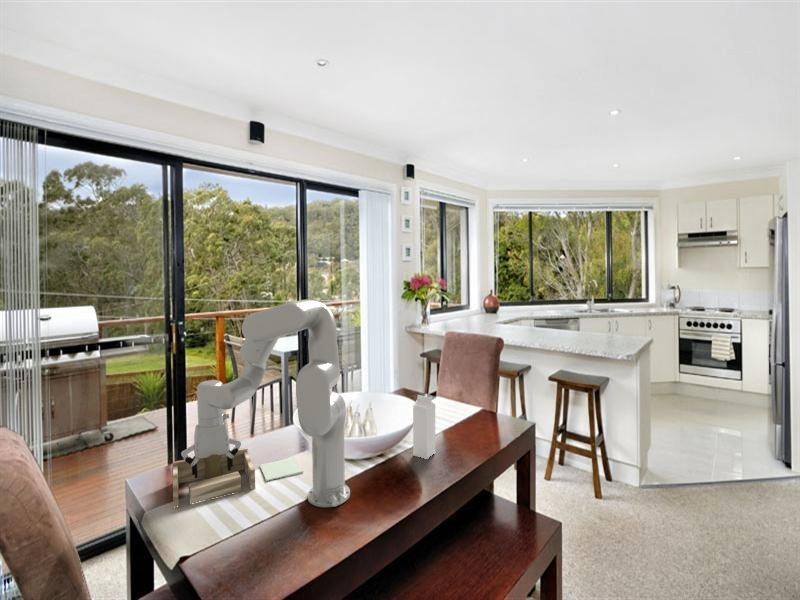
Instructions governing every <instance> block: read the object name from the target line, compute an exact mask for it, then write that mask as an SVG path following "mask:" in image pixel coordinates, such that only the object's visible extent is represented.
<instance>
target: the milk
mask: <svg viewBox="0 0 800 600" xmlns="http://www.w3.org/2000/svg"><path fill="white" fill-rule="evenodd" d="M412 417H413V418H412V422H413V423H412V427H413V428H412V432H413V434H412V436H413V437H412V445H413V446H412V448H413V449H412V452H413V453H412V456H413V457H414V456H415V457H416V458H417V457H418V458H420V457H421V458H420V459H423V458H424V460H426V459H427V460H428V459H430V458H431V457H433V456H434V455H435V454H436V403H435V402H432V397H430V396H425V395H419V394H417V399H416V401H415V402H414V403H413V405H412ZM433 454H434V455H433ZM432 455H433V456H432ZM430 456H431V457H430ZM429 457H430V458H429Z"/></svg>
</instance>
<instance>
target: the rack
mask: <svg viewBox="0 0 800 600" xmlns="http://www.w3.org/2000/svg"><path fill="white" fill-rule="evenodd" d="M232 450H233V449H231V450H230V451H232ZM249 454H250V453H249V451H248V447H247V446H246V447H242V448H241V447H240V448H239V449H238V452H237V453H236V454H235V455H234V457H233V458H232V459H233V467H231V471H228V468H227V455H226V454H223V455H222V457H221V460H220V463H221V468H222V473H223V475H226V474H230V473H233V472H237V471H238V472H239V471H242V470H244V472H245V476H246V479H247V481H248V483H249V487H250V486H251V487H250V490H254V489H253V488H255V489H256V470H255V466H254V465H253V462H252V460H251V457H250V455H249ZM172 466H173V467H172V469H173V470H172V501H173V508H174V507H177V506H178V507H179V484H182V483H183V484H184V483H188V482H192V481H196V480H201V479H204V477H205V467H206V462H205V461H204V458H203V459H199V460H198V462H197V478H195V475H192V466H191V465H190V464H189V463H187V462H186V461H185V459H182V460H181V459H180V460H176V461H173V462H172Z"/></svg>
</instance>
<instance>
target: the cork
mask: <svg viewBox="0 0 800 600" xmlns="http://www.w3.org/2000/svg"><path fill="white" fill-rule="evenodd" d="M221 457H222V455H217V454H214V455H210V456H209V457H207V458H204V461H205V462H206V467H205V477H204V478H203V479H204V480H207V479H211V478H215V477H218V476H222V475H224V474H223V473H222V468H221V463H220V460H221Z"/></svg>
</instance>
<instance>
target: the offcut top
mask: <svg viewBox="0 0 800 600" xmlns="http://www.w3.org/2000/svg"><path fill="white" fill-rule="evenodd" d="M240 484H241V485H242V476H241V475H240V473H239V471H234V472H229V473H225V474H223V475H222V476H218V477H215V478H211V479H207V480H200V481H197V482H193V483H189V484H188V494H190V495H189V498H190V497H191V498H195V497H198V496H202V495H205V494H209V493H212V492H216V491H219V490H223V489H226V488H230V487H233V486H237V485H240Z"/></svg>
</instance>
